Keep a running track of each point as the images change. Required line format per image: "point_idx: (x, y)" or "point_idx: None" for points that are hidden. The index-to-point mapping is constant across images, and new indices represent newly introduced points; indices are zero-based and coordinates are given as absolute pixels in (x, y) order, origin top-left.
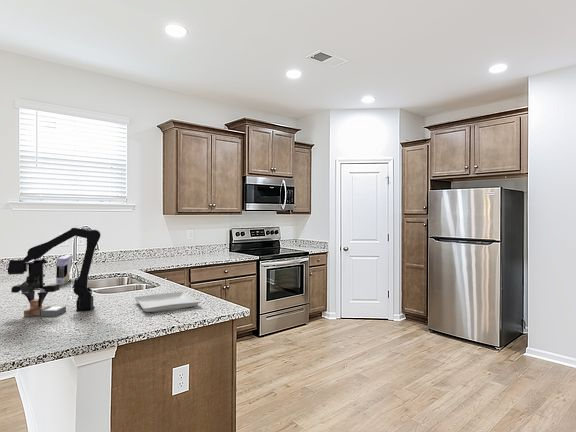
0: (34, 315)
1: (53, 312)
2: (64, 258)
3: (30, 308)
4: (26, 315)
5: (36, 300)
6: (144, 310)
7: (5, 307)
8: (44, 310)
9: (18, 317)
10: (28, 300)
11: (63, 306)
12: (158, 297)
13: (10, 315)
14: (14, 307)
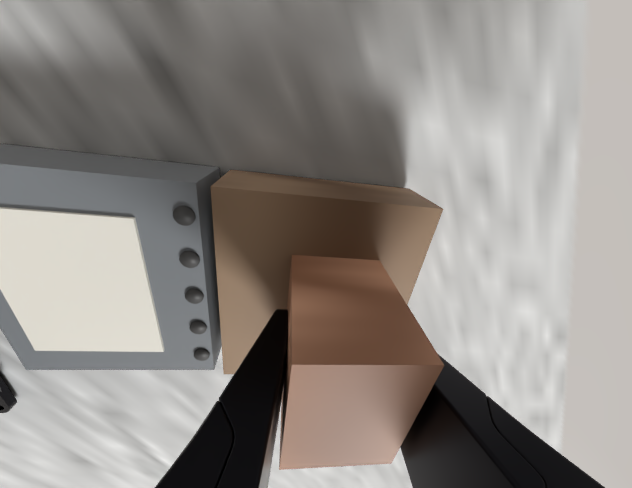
0: (295, 177)
1: (1, 156)
2: None
3: (379, 267)
4: (384, 187)
5: (318, 386)
6: None
7: (558, 415)
8: (152, 199)
9: (452, 164)
10: (480, 390)
11: (43, 359)
12: None
13: (528, 251)
14: (514, 415)
